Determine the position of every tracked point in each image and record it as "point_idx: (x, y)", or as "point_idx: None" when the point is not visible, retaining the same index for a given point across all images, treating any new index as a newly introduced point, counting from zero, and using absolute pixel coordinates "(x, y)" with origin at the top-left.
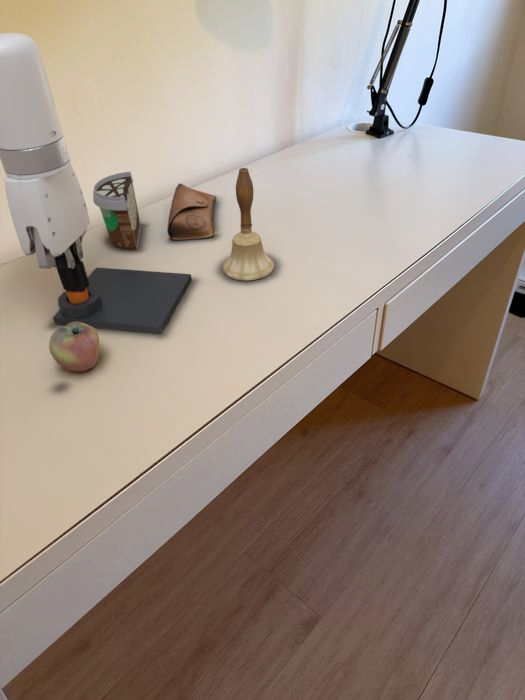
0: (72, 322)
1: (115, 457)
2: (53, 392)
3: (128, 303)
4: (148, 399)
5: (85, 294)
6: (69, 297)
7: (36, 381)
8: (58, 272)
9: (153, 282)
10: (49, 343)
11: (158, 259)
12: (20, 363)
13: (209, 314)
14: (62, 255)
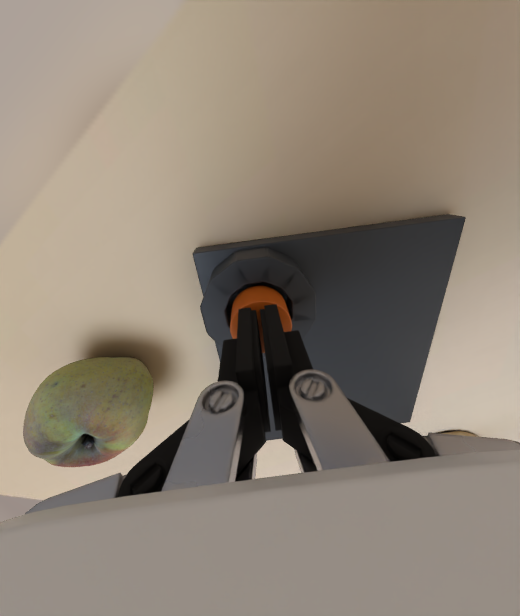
0: (101, 429)
1: (19, 477)
2: (35, 371)
3: None
4: (114, 466)
5: None
6: (231, 314)
7: (30, 330)
8: (237, 348)
9: (379, 382)
10: (31, 401)
11: (500, 325)
12: (40, 263)
13: None
14: (292, 399)
